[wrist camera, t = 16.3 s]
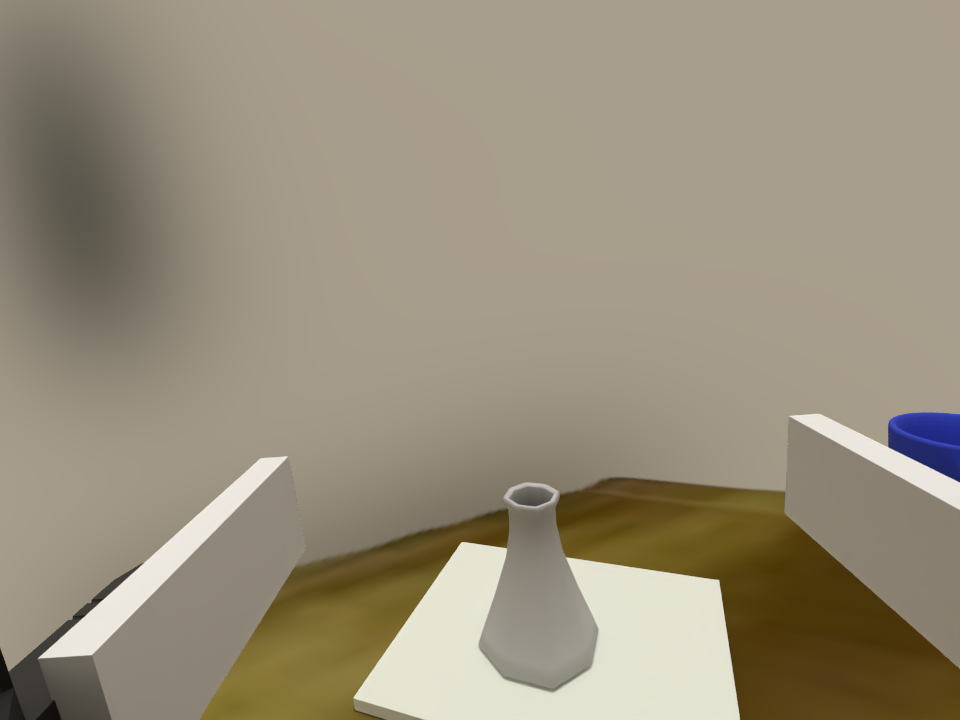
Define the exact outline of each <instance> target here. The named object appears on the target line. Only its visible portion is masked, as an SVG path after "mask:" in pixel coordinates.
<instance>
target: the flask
mask: <svg viewBox="0 0 960 720" xmlns="http://www.w3.org/2000/svg"><path fill="white" fill-rule="evenodd" d="M559 497H560V492H559V491H557V490H555V489H554V488H552V487H550V486H548V485H546V484H538V483H529V482H525V483H522V484H520V485H517V486H514V487H511V488H509V490H508V491H507V493H506V494H505V495H504V497H503V503H504V506H505V507H507V508H508V510H509V525H510V530H509V538H508V545H507V553H506V558H505V562H504V565H503V568H502V572H501V575H500V578H499V582H498V585H497V589H496V592H495V595H494V598H493V601H492V604H491V607H490V610H489V613H488V616H487V619H486V622H485V625H484V628H483V631H482V634H481V637H480V640H479V644H478V645H479V646H480V647H481V649H482V650H483V651H484V652H485V653H486V655H487V656H488V657H489V658H490V660H491V661H492V662H493V663H494V664H495V666H496V667H497V668H498V669H499V670H500V672H501V673H502V674H503V675H504V676H507V677H510V678H514V679H518V680H522V681H525V682H529V683H533V684H537V685H540V686H544V687H548V688H552V689H554V688H555V687H557V686H558V685H560V684H561V683H563V682H565V681H566V680H568V679H569V678H571V677H572V676H574V675H575V674H577V673H579V672H580V671H582V670H583V669H585V668H586V667H588V666H589V665H591V664H592V659H593V654H594V649H595V645H596V640H597V635H598V630H599V629H598V627H597V624H596V622H595V620H594V617H593V615H592V613H591V611H590V609H589V607H588V605H587V603H586V601H585V599H584V597H583V595H582V593H581V591H580V589H579V587H578V584H577V582H576V580H575V577H574V575H573V573H572V570H571V568H570V566H569V563H568V561H567V559H566V557H565V554H564V552H563V549H562V545H561V541H560V537H559V533H558V529H557V525H556V513H555V507H556V505H557V503H558V500H559Z"/></svg>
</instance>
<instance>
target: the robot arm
mask: <svg viewBox="0 0 960 720" xmlns="http://www.w3.org/2000/svg"><path fill="white" fill-rule="evenodd" d="M785 514H786V515H787V516H788V517H789V518H790V519H792V520H793V521H794V522H795V523H796V524H797V525H798V526H799V527H801V528H802V529H803V530H804V531H805V532H806V533H807V534H809V535H810V536H811V537H812V538H813V539H814V540H815V541H816V542H818V543H819V544H820V545H821V546H822V547H823V548H824V549H825V550H827V551H828V552H829V553H830V554H831V555H832V556H833V557H834V558H836V559H837V560H838V561H839V562H840V563H841V564H842V565H843V566H845V567H846V568H847V569H848V570H849V571H850V572H851V573H853V574H854V575H855V576H856V577H857V578H858V579H859V580H860V581H862V582H863V583H864V584H865V585H866V586H867V587H868V588H869V589H871V590H872V591H873V592H874V593H875V594H876V595H877V596H878V597H880V598H881V599H882V600H883V601H884V602H885V603H886V604H887V605H889V606H890V607H891V608H892V609H893V610H894V611H895V612H897V613H898V614H899V615H900V616H901V617H902V618H903V619H904V620H906V621H907V622H908V623H909V624H910V625H911V626H912V627H913V628H915V629H916V630H917V631H918V632H919V633H920V634H921V635H922V636H924V637H925V638H926V639H927V640H928V641H929V642H930V643H932V644H933V645H934V646H935V647H936V648H937V649H938V650H939V651H941V652H942V653H943V654H944V655H945V656H946V657H947V658H948V659H950V660H951V661H952V662H953V663H954V664H955V665H956V666H957V667H959V668H960V482H958V481H956V480H954V479H951V478H949V477H947V476H945V475H943V474H941V473H939V472H937V471H935V470H933V469H931V468H929V467H927V466H925V465H923V464H921V463H919V462H917V461H915V460H913V459H911V458H909V457H907V456H905V455H903V454H900V453H898V452H896V451H894V450H892V449H890V448H888V447H886V446H884V445H882V444H880V443H878V442H876V441H874V440H872V439H870V438H868V437H866V436H864V435H862V434H860V433H858V432H856V431H854V430H852V429H849V428H847V427H845V426H843V425H841V424H839V423H837V422H835V421H833V420H831V419H829V418H827V417H825V416H823V415H821V414H810V415H798V416H789V424H788V448H787V472H786V495H785ZM305 549H306V546H305V541H304V536H303V530H302V525H301V520H300V515H299V509H298V504H297V498H296V493H295V489H294V483H293V477H292V472H291V467H290V462H289V457H288V456H287V457H274V458H262V459H260V460H259V461H258V462H256V463H255V464H254V465H253V466H252V467H251V468H250V469H248V470H247V472H245V473H244V474H243V475H242V476H241V477H240V478H238V479H237V480H236V481H235V482H234V483H233V484H232V485H231V486H230V487H228V488H227V489H226V490H225V491H224V492H223V493H222V494H221V495H220V496H218V497H217V498H216V499H215V500H214V501H213V502H212V503H211V504H210V505H208V506H207V507H206V508H205V509H204V510H203V511H202V512H201V513H199V515H197V516H196V517H195V518H194V519H193V520H192V521H191V522H189V523H188V524H187V525H186V526H185V527H184V528H183V529H182V530H180V531H179V533H177V534H176V535H175V536H174V537H173V538H172V539H170V540H169V541H168V542H167V543H166V544H165V545H164V546H163V547H162V548H161V549H159V550H158V551H157V552H156V553H155V554H154V555H153V556H152V557H151V558H150V559H148V560H147V561H146V562H145V563H142V564H140V565H139V566H137V567H135V568H134V569H132V570H130V571H129V572H127V573H125V574H124V575H122V576H120V577H119V578H117V579H115V580H114V581H113V582H111V583H110V584H109V585H108V586H107V587H106V588H105V589H103V590H102V591H101V592H100V593H99V594H98V595H97V596H95V597H94V598H93V599H92V602H91V603H88V604H86V605H85V606H84V607H83V608H82V609H80V610H79V611H78V612H77V613H76V614H75V615H74V616H73V619H72V620H68V621H67V622H65V623H64V624H63V625H62V626H61V627H60V628H59V629H57V630H56V631H55V632H54V633H53V634H52V635H51V636H49V637H48V638H47V639H46V640H45V641H44V642H43V643H41V644H40V645H39V646H38V647H37V648H36V649H35V650H33V651H32V652H31V653H30V654H29V655H28V656H27V657H25V658H24V659H23V660H22V661H21V662H20V663H19V664H17V665H16V666H15V667H14V668H13V669H12V670H10V671H9V672H8V669H7V666H6V664H5V660H4V658H3V655H2V652H1V649H0V720H199V719H200V717H201V716H202V714H203V712H204V711H205V709H206V708H207V706H208V704H209V703H210V701H211V700H212V698H213V696H214V695H215V693H216V692H217V690H218V688H219V687H220V685H221V683H222V682H223V680H224V679H225V677H226V675H227V674H228V672H229V671H230V669H231V667H232V666H233V664H234V663H235V661H236V659H237V658H238V656H239V655H240V653H241V651H242V650H243V648H244V647H245V645H246V643H247V642H248V640H249V639H250V637H251V635H252V634H253V632H254V631H255V629H256V627H257V626H258V624H259V623H260V621H261V619H262V618H263V616H264V615H265V613H266V611H267V610H268V608H269V607H270V605H271V603H272V602H273V600H274V598H275V597H276V595H277V594H278V592H279V590H280V589H281V587H282V586H283V584H284V582H285V581H286V579H287V578H288V576H289V574H290V573H291V571H292V570H293V568H294V566H295V565H296V563H297V561H298V560H299V558H300V557H301V555H302V554H303V552H304V550H305Z"/></svg>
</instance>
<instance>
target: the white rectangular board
mask: <svg viewBox="0 0 960 720" xmlns="http://www.w3.org/2000/svg"><path fill="white" fill-rule="evenodd" d="M506 553H507V549H506V548H499V547H492V546H486V545H479V544H472V543H466V542H462V543H461V544H460V545H459V547H458V548H457V550H456V551H455V553H454V554H453V556H452V557H451V558H450V560H449V561H448V563H447V564H446V566H445V567H444V568H443V570H442V571H441V573H440V574H439V576H438V577H437V579H436V580H435V581H434V583H433V584H432V586H431V587H430V589H429V590H428V591H427V593H426V594H425V596H424V597H423V599H422V600H421V602H420V603H419V604H418V606H417V607H416V609H415V610H414V612H413V613H412V614H411V616H410V617H409V619H408V620H407V622H406V623H405V625H404V626H403V627H402V629H401V630H400V632H399V633H398V635H397V636H396V637H395V639H394V640H393V642H392V643H391V645H390V646H389V648H388V649H387V650H386V652H385V653H384V655H383V656H382V658H381V659H380V660H379V662H378V663H377V665H376V666H375V668H374V669H373V671H372V672H371V673H370V675H369V676H368V678H367V679H366V681H365V682H364V683H363V685H362V686H361V688H360V689H359V691H358V692H357V694H356V695H355V696H354V698H353V700H354V707H355V710H356V711H360V712H363V713H366V714H369V715H373V716H376V717H379V718H382V719H385V720H740V716H739V710H738V703H737V696H736V690H735V683H734V677H733V670H732V663H731V657H730V650H729V643H728V637H727V630H726V624H725V617H724V610H723V604H722V597H721V591H720V584H719V580H712V579H706V578H699V577H692V576H686V575H679V574H672V573H666V572H659V571H652V570H646V569H639V568H632V567H626V566H619V565H612V564H606V563H599V562H592V561H586V560H579V559H572V558H566V559H567V561H568V563H569V566H570V568H571V570H572V573H573V575H574V577H575V580H576V582H577V584H578V587H579V589H580V591H581V593H582V595H583V597H584V599H585V601H586V603H587V605H588V607H589V609H590V611H591V613H592V615H593V617H594V620H595V622H596V624H597V627H598V629H599V630H598V635H597V640H596V645H595V649H594V654H593V659H592V664H591V665H589V666H588V667H586V668H585V669H583V670H582V671H580V672H579V673H577V674H575V675H574V676H572V677H571V678H569V679H568V680H566V681H565V682H563V683H561V684H560V685H558V686H557V687H555V688H554V689H552V688H548V687H544V686H540V685H537V684H533V683H529V682H525V681H522V680H518V679H514V678H510V677H507V676H504V675H503V674H502V673H501V672H500V670H499V669H498V668H497V667H496V666H495V664H494V663H493V662H492V661H491V660H490V658H489V657H488V656H487V655H486V653H485V652H484V651H483V650H482V649H481V647H480V646H479V645H478V644H479V640H480V637H481V634H482V631H483V628H484V625H485V622H486V619H487V616H488V613H489V610H490V607H491V604H492V601H493V598H494V595H495V592H496V589H497V585H498V582H499V578H500V575H501V572H502V568H503V565H504V562H505V558H506Z"/></svg>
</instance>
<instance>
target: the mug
mask: <svg viewBox="0 0 960 720" xmlns="http://www.w3.org/2000/svg"><path fill="white" fill-rule="evenodd" d="M888 425H889V426H888V433H889V434H888V438H889V439H888V443H889V444H888V446H889V447H888V448H890V449H892V450H894V451H896V452H898V453H900V454H903V455H905V456H907V457H909V458H911V459H913V460H915V461H917V462H919V463H921V464H923V465H925V466H927V467H929V468H931V469H933V470H935V471H937V472H939V473H941V474H943V475H945V476H947V477H949V478H951V479H954V480H956V481H958V482H960V415H959V414H949V413H909V414H903V415H899V416H896V417H893V418H892V419H891V420H890V421H889V424H888Z"/></svg>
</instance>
